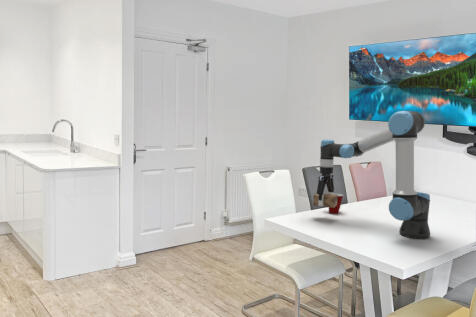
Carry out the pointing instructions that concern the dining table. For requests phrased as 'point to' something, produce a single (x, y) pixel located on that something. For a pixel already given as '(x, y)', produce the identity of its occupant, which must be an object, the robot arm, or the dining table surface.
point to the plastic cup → (337, 207)
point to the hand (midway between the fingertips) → (325, 204)
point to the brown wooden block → (326, 200)
